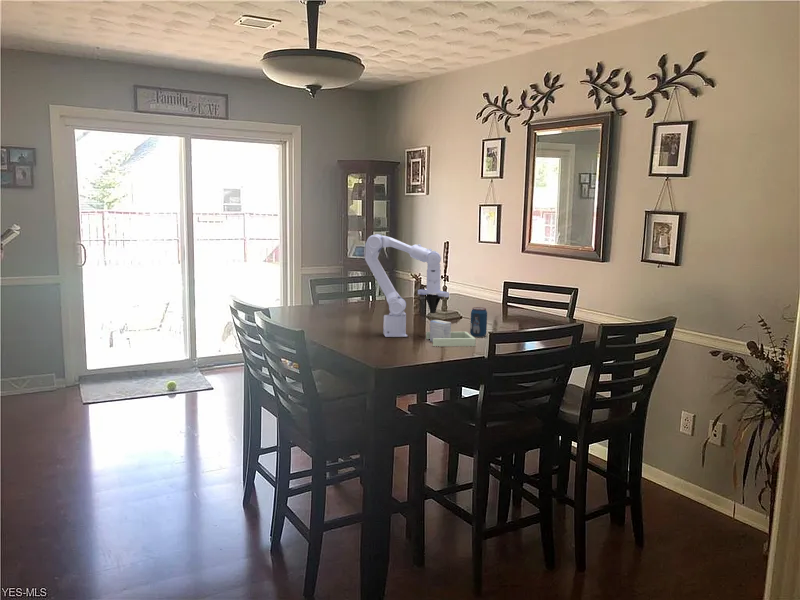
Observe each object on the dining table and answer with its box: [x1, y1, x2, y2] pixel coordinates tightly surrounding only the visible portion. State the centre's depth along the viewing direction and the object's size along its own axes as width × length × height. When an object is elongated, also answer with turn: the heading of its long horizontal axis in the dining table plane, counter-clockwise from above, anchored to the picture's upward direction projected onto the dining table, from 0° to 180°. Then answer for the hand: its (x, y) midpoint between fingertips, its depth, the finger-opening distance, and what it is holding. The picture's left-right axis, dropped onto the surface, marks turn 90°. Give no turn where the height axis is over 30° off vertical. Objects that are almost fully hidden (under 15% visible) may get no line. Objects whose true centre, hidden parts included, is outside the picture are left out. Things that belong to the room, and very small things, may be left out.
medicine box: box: [429, 319, 452, 343], centre depth 257 cm, size 8×4×9 cm, turn 42°
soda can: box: [469, 306, 488, 338], centre depth 272 cm, size 7×7×12 cm
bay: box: [425, 331, 477, 348], centre depth 258 cm, size 17×14×3 cm
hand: (432, 312), depth 266 cm, fingers closed
